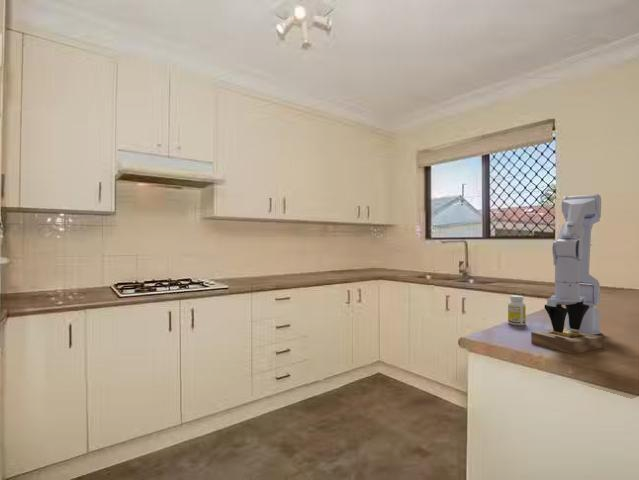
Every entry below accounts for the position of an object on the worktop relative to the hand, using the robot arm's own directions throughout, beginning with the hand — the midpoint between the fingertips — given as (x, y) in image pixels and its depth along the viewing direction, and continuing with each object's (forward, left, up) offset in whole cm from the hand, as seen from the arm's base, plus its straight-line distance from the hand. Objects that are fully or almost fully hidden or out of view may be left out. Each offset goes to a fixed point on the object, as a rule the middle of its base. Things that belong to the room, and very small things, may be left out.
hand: (566, 330), depth 100 cm
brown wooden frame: (0, 0, -4) cm, 4 cm away
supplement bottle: (-11, -23, -4) cm, 26 cm away
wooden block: (0, 0, -4) cm, 4 cm away
